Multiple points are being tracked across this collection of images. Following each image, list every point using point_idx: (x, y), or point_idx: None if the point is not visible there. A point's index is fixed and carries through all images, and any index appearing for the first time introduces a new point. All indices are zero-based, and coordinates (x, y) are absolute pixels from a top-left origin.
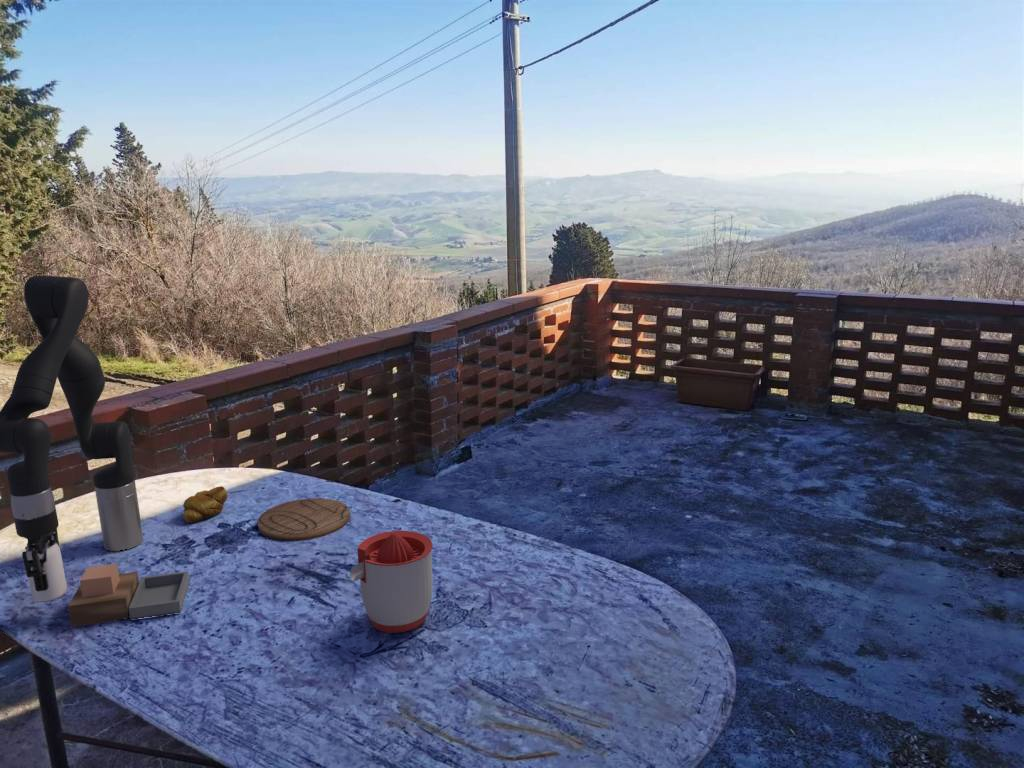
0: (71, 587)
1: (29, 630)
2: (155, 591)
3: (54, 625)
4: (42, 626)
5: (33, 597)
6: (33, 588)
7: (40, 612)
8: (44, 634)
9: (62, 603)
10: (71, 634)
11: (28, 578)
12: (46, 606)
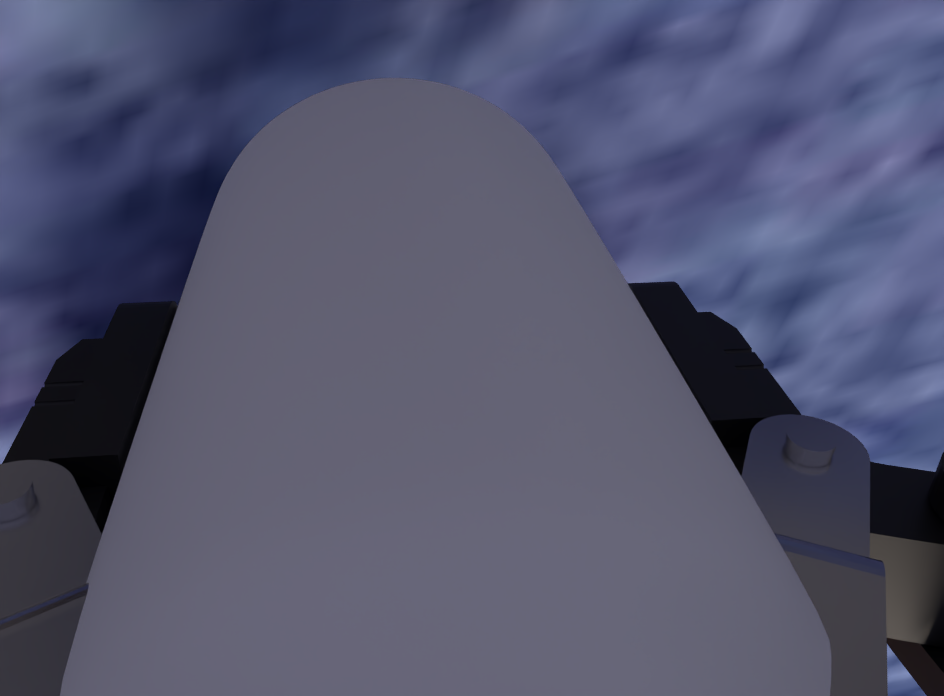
0: (889, 151)
1: (127, 14)
2: None
3: (191, 220)
4: (190, 118)
5: (257, 142)
6: (210, 235)
7: (484, 7)
8: (35, 185)
9: (598, 164)
10: (19, 394)
11: (288, 216)
12: (593, 29)
